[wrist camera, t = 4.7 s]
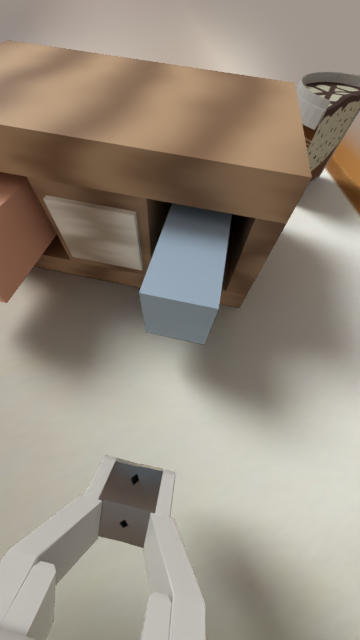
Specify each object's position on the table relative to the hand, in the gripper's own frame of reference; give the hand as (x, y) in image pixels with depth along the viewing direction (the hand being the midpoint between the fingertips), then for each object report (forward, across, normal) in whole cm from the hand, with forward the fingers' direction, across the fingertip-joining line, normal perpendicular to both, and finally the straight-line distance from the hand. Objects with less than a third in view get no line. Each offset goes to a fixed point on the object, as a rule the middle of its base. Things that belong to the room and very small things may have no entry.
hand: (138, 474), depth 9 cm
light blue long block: (+11, 0, -8) cm, 14 cm away
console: (+18, +7, -10) cm, 22 cm away
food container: (+31, -10, -22) cm, 39 cm away
